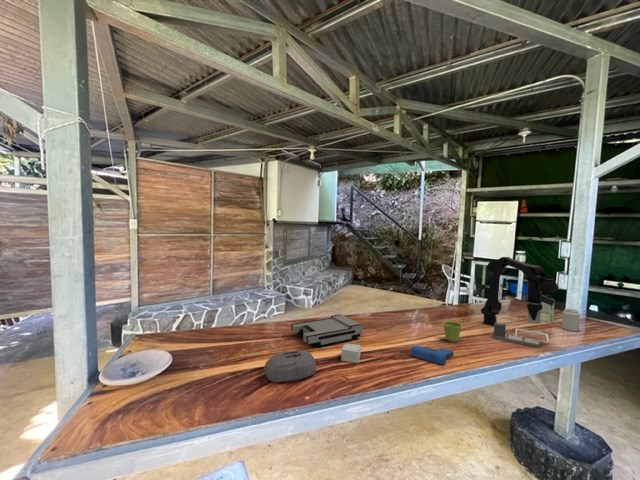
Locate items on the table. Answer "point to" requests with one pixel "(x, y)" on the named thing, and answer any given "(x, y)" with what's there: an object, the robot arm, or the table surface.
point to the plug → (535, 319)
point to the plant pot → (452, 330)
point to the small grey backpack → (290, 366)
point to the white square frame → (533, 333)
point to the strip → (518, 340)
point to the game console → (328, 331)
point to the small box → (350, 353)
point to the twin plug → (499, 329)
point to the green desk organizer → (547, 313)
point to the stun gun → (431, 354)
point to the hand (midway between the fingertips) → (533, 319)
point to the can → (571, 320)
